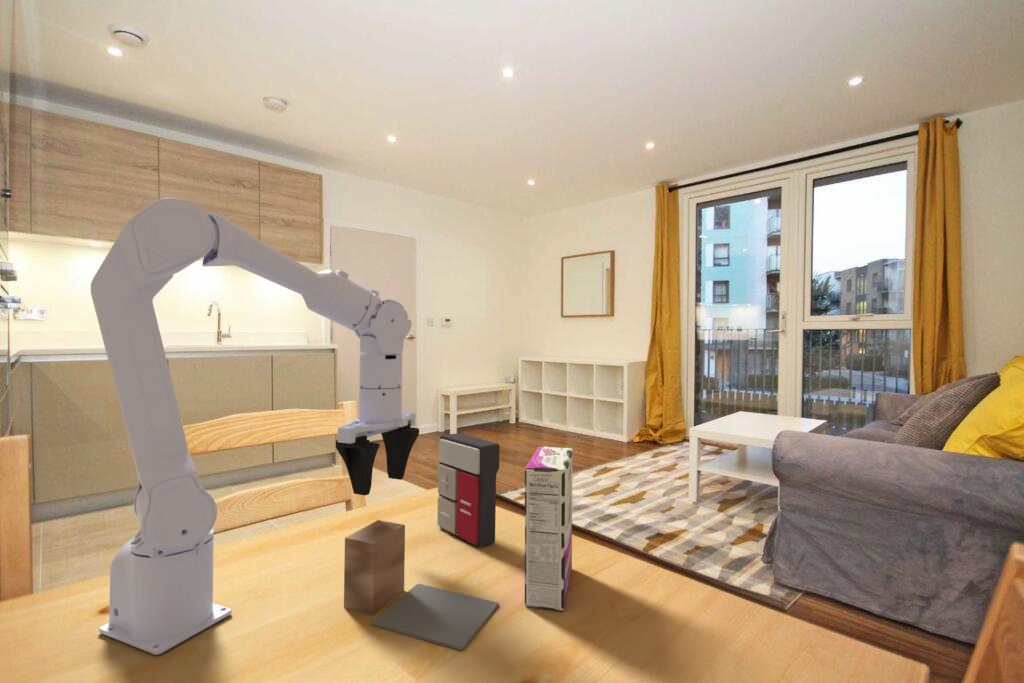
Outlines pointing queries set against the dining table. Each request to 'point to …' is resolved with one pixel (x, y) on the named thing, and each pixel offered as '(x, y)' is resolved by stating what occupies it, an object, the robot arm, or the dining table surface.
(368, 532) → the walnut block
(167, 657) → the dining table surface
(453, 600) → the mat
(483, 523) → the calculator
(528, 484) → the candy bar box
